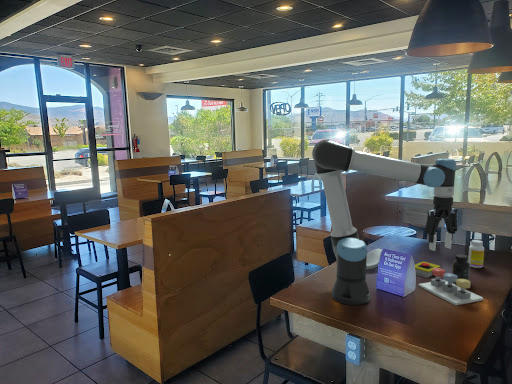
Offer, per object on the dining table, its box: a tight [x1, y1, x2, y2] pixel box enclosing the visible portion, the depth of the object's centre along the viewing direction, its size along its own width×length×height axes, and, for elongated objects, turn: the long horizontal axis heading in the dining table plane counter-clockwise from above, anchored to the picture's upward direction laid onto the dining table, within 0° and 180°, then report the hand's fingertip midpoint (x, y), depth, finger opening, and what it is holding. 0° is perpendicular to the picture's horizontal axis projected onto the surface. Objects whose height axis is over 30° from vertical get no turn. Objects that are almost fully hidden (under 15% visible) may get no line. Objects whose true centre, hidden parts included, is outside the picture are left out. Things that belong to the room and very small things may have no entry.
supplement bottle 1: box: [451, 253, 471, 284], centre depth 170 cm, size 7×7×12 cm
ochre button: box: [455, 279, 471, 291], centre depth 153 cm, size 5×5×4 cm
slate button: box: [443, 272, 457, 285], centre depth 159 cm, size 5×5×4 cm
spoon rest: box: [366, 248, 383, 271], centre depth 194 cm, size 24×12×7 cm, turn 131°
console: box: [418, 278, 484, 306], centre depth 159 cm, size 14×20×3 cm
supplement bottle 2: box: [467, 239, 485, 269], centre depth 190 cm, size 7×7×13 cm
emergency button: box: [414, 261, 441, 278], centre depth 184 cm, size 9×4×15 cm
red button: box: [432, 267, 446, 280], centre depth 165 cm, size 5×5×4 cm
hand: (440, 248), depth 163 cm, fingers open, 8 cm apart
